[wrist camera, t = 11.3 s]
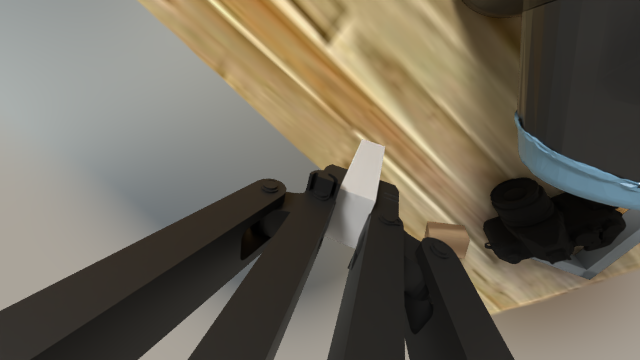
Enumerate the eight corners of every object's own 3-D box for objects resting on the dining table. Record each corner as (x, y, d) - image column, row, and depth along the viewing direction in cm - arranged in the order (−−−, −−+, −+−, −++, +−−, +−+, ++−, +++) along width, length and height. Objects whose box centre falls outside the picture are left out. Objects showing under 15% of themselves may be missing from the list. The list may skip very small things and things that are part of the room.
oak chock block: (427, 220, 43) (429, 234, 40) (464, 225, 42) (469, 240, 38) (424, 237, 45) (426, 252, 42) (459, 242, 43) (464, 258, 40)
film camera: (570, 152, 32) (623, 182, 25) (598, 204, 34) (655, 247, 27) (457, 199, 40) (471, 233, 32) (485, 239, 42) (504, 281, 34)
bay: (611, 113, 29) (631, 119, 27) (725, 144, 27) (758, 153, 25) (501, 238, 41) (508, 250, 38) (577, 265, 39) (589, 279, 36)
